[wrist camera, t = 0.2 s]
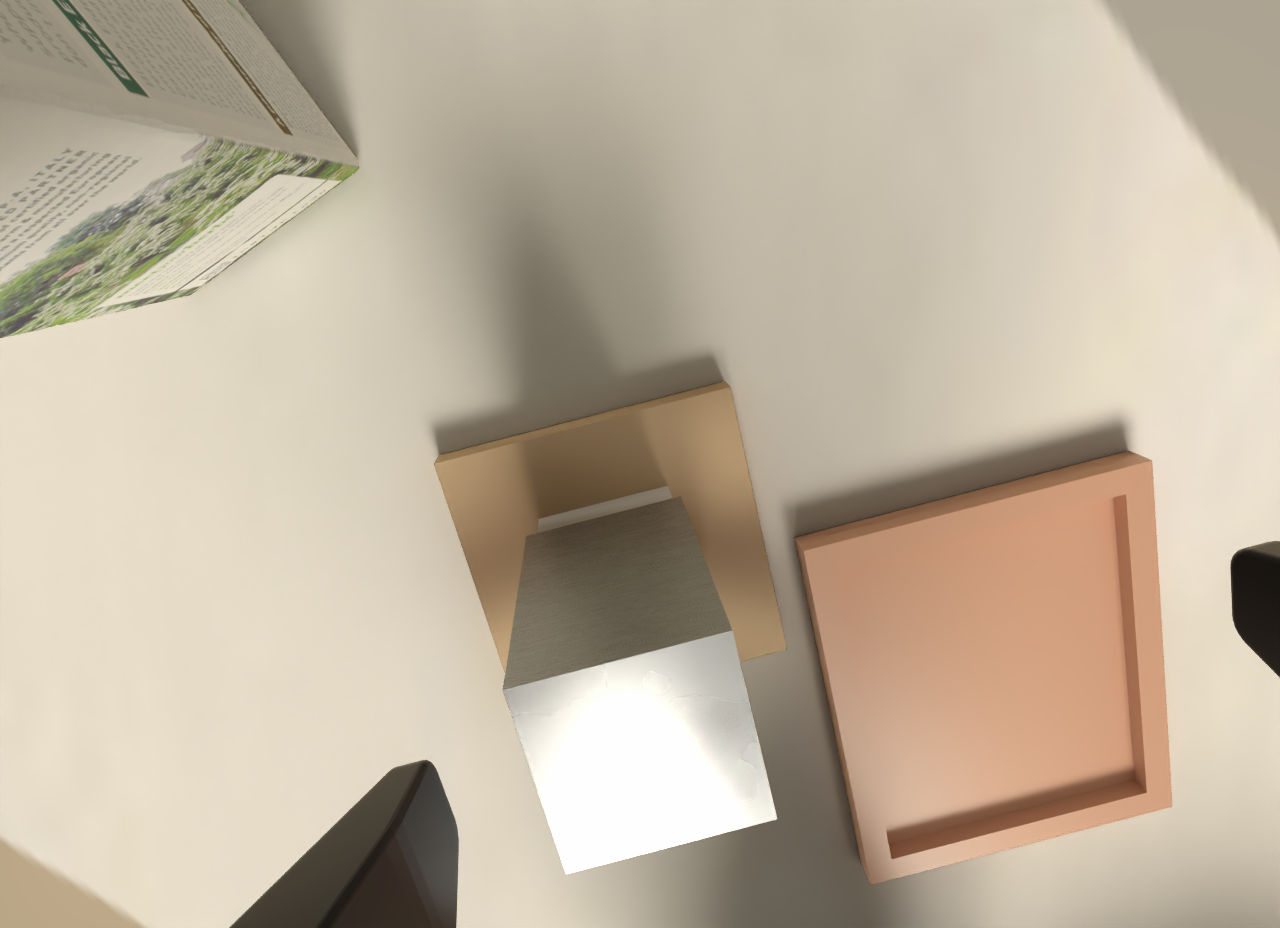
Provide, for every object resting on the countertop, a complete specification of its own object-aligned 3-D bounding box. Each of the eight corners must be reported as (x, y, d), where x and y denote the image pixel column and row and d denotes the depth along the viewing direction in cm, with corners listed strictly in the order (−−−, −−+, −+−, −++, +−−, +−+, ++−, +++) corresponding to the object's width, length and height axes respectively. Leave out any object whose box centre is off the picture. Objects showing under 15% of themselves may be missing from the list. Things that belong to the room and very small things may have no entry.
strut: (714, 633, 22) (777, 819, 15) (568, 671, 22) (565, 874, 15) (680, 495, 21) (732, 630, 14) (525, 536, 20) (502, 690, 14)
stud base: (780, 636, 25) (801, 678, 22) (522, 702, 25) (516, 752, 22) (724, 381, 22) (742, 400, 20) (439, 455, 22) (423, 483, 20)
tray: (1151, 785, 27) (1172, 806, 26) (860, 861, 27) (870, 885, 26) (1128, 450, 24) (1152, 460, 23) (794, 537, 24) (803, 551, 23)
